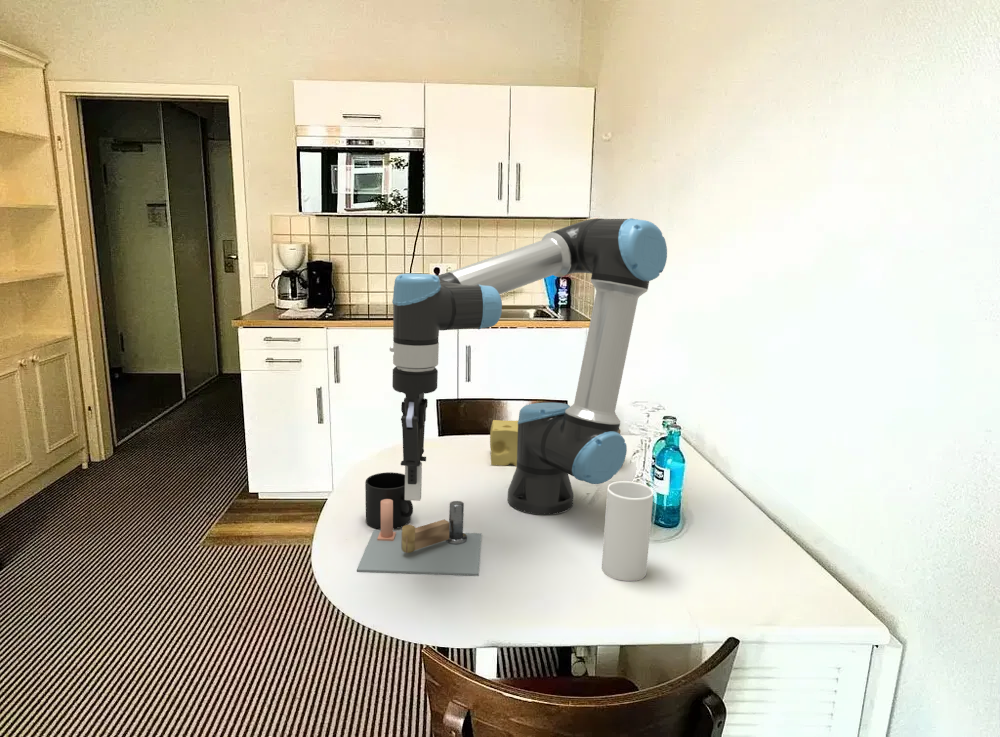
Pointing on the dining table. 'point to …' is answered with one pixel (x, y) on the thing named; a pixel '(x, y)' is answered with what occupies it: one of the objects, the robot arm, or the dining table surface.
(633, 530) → the cup
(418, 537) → the gate
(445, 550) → the mat
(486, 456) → the dining table surface
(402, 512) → the mug
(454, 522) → the pivot post
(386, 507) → the post
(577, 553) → the dining table surface
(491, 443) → the cheese
